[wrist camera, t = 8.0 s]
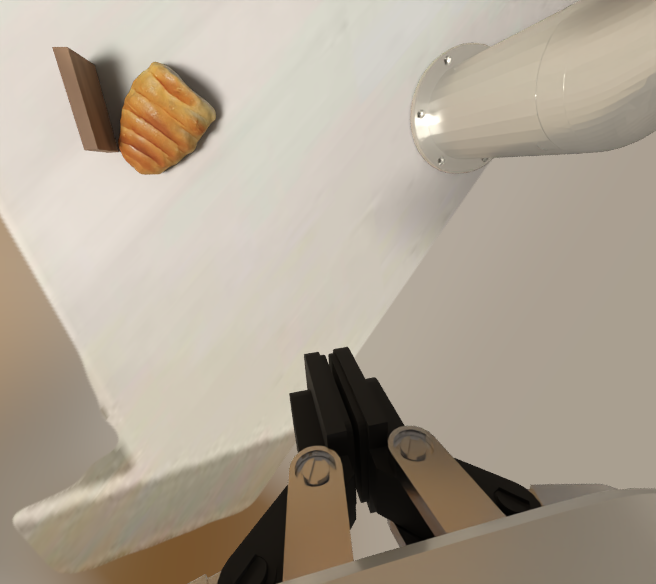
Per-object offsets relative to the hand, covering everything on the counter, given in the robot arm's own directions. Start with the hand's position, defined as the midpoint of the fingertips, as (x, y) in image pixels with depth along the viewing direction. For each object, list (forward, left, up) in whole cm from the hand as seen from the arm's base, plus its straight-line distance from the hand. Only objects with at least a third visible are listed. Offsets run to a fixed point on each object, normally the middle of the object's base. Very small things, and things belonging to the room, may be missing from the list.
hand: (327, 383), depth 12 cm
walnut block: (+14, -14, -27) cm, 34 cm away
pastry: (+9, -12, -28) cm, 32 cm away
